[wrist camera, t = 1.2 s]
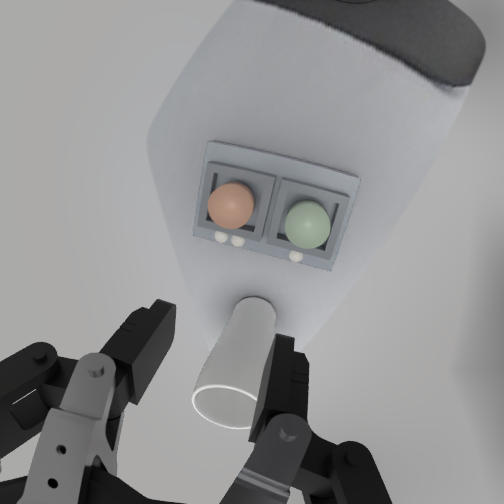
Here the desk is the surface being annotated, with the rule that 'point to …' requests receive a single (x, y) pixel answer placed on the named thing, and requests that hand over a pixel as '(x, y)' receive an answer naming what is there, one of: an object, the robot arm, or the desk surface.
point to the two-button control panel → (275, 201)
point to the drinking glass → (236, 366)
